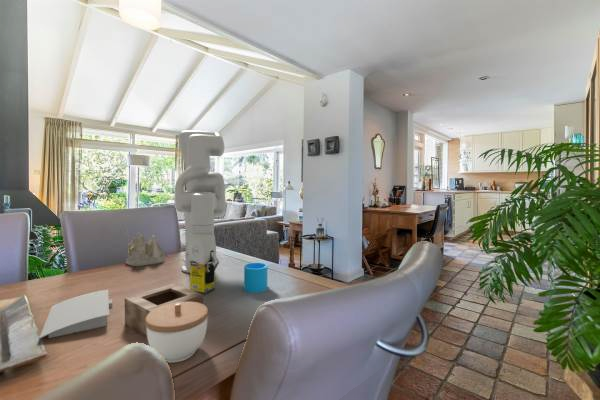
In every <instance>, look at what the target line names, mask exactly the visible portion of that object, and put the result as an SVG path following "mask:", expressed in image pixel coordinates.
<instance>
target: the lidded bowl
mask: <svg viewBox="0 0 600 400" xmlns="http://www.w3.org/2000/svg"><path fill="white" fill-rule="evenodd" d="M208 315H209V309H208V307H207V306H206V305H205V304H204V303H203V304H201V303H198V302H188V301H187V302H176V303H170V304H167V305H163V306H161V307H158V308H156V309H154V310H153V311H151V312H150V313H149V314H148V315H147V316H146V319H145V323H146V332H147V337H146V340H147V342H148V346H149V347H150V346H151V347H153V348H155V349H156V350H157V351H159V353H160V354H161V355H162V356H163V357H164V358H165V360H166V361H167V362H166V363H170V364H171V363H173V364H174V363H179V362H183V361H186V360H188V359H189V358H191V357H192V356H194V354H195V353H196V351H197V350H198V349H199V348H200V347H201V345H202V344H203V342H204V340H205V337H206V335H207V334H206V333H207V329H208V328H207V327H208Z"/></svg>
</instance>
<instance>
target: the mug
mask: <svg viewBox="0 0 600 400" xmlns="http://www.w3.org/2000/svg"><path fill="white" fill-rule="evenodd" d="M243 266H244V267H243V269H244V271H243V277H244V278H243V281H244V282H243V283H244V285H243V290H244V291H245V292H247V293H252V294H253V293H254V294H255V293H256V294H257V293H262V292H265V291H267V290H268V264H267V263H264V262H251V263H250V262H249V263H246V264H245V265H243Z"/></svg>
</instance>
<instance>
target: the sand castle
mask: <svg viewBox="0 0 600 400" xmlns="http://www.w3.org/2000/svg"><path fill="white" fill-rule="evenodd" d="M146 238H147V237H146V236H145V235H144V236H143V234H142V233H141V232H140V231H138V232H137V235H136V237H133V239H132V240H131V242H130V243H128V244H127V249H126V251H127V258H125V264H127V265H128V266H131V267H132V266H135V267H136V266H137V267H139V266H148V265H154V264H155V265H156V264H161V263H164V262H165V261H166V258H165V256H164V251H163V250H164V248H163V247H161V245H159V243H158V241H157V237H156V235H151V237H150V239H149V240H148V242H147V239H146Z"/></svg>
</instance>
